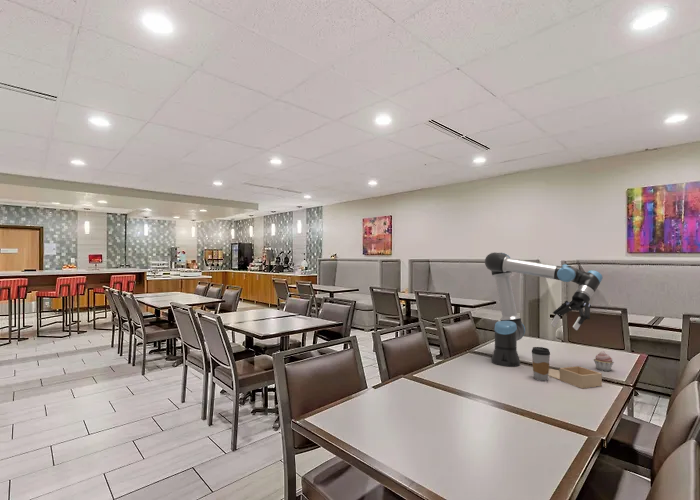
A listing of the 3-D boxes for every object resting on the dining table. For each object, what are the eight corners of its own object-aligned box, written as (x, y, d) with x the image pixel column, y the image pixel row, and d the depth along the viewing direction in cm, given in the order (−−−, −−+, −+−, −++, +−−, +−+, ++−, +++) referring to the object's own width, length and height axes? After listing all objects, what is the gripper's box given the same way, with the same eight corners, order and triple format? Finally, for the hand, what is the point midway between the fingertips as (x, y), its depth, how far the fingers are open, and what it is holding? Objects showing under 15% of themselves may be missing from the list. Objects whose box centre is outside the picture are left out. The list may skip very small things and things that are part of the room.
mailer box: (534, 371, 193) (534, 359, 193) (552, 369, 197) (552, 358, 197) (582, 388, 167) (582, 375, 167) (601, 386, 171) (601, 373, 171)
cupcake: (618, 372, 193) (618, 353, 193) (600, 372, 193) (600, 353, 194) (606, 367, 202) (606, 349, 203) (589, 366, 203) (589, 349, 203)
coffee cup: (545, 376, 184) (545, 347, 185) (553, 382, 176) (553, 351, 176) (528, 375, 185) (528, 346, 185) (535, 381, 177) (535, 350, 177)
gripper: (609, 301, 180) (589, 335, 174) (566, 299, 204) (548, 328, 198) (600, 291, 179) (580, 325, 173) (558, 290, 202) (539, 319, 197)
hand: (563, 327), depth 186 cm, fingers open, 13 cm apart
